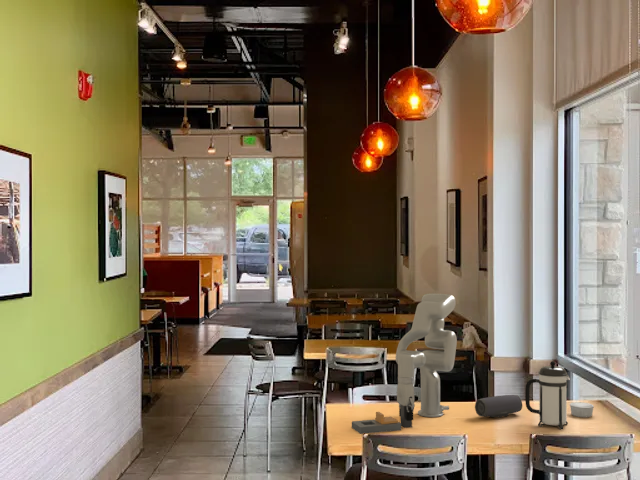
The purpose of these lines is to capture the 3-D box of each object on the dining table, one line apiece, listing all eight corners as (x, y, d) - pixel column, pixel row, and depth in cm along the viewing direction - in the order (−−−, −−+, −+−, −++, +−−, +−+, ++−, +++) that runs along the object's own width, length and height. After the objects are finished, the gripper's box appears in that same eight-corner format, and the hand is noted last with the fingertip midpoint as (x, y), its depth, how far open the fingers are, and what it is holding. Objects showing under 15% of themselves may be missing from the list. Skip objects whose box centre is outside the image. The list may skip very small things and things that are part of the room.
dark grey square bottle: (408, 425, 335) (408, 399, 335) (412, 427, 331) (411, 401, 331) (400, 425, 334) (400, 400, 334) (404, 427, 330) (404, 401, 330)
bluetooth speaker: (510, 411, 360) (510, 392, 360) (523, 416, 351) (523, 395, 351) (474, 416, 350) (473, 396, 350) (486, 421, 342) (486, 400, 342)
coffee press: (558, 420, 342) (558, 357, 342) (576, 429, 326) (575, 363, 326) (524, 422, 339) (524, 359, 339) (540, 430, 323) (540, 364, 324)
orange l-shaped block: (390, 418, 334) (390, 410, 334) (397, 422, 327) (397, 414, 327) (375, 420, 332) (375, 411, 332) (381, 424, 324) (381, 415, 324)
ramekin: (586, 419, 345) (586, 408, 345) (565, 415, 353) (565, 404, 353) (598, 415, 352) (598, 404, 352) (577, 411, 360) (576, 401, 360)
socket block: (391, 424, 336) (391, 417, 336) (401, 430, 325) (401, 423, 325) (351, 427, 330) (351, 421, 330) (360, 434, 319) (360, 427, 319)
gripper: (391, 377, 339) (391, 414, 339) (406, 384, 323) (406, 423, 323) (405, 376, 342) (405, 413, 342) (421, 383, 325) (421, 422, 325)
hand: (406, 418), depth 332 cm, fingers open, 7 cm apart
